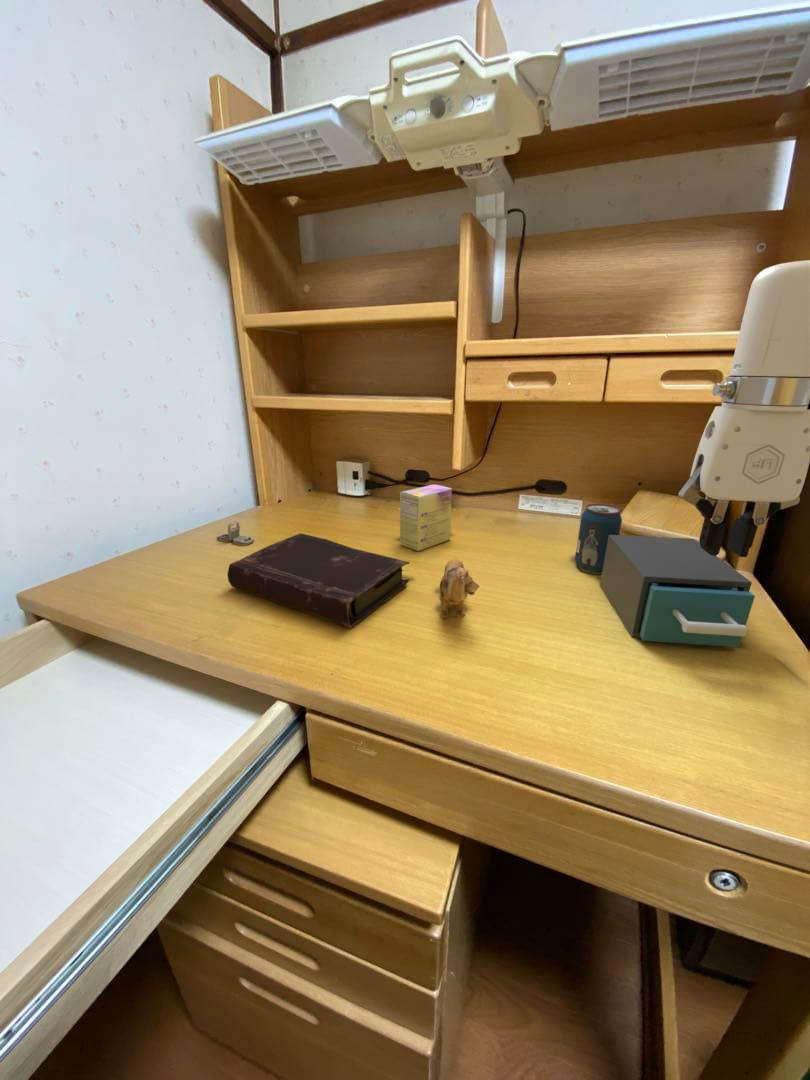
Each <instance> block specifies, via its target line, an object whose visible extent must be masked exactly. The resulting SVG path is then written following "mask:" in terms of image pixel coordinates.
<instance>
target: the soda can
mask: <svg viewBox="0 0 810 1080" xmlns="http://www.w3.org/2000/svg"><path fill="white" fill-rule="evenodd" d="M622 521H623V517H622V516H621V509H620V508H618V507H617V506H614V505H610V504H605V503H590V504H587V505H586V507H585V510H584V511H583V512H582V513H581V515H580V521H579V522H580V523H579V530H578V536H577V543H576V549H575V555H574V561H575V564H576V566H577V568H578V569H579V570H581V571H582V572H585V573H588V574H592V575H602V570H603V565H604V559H605V553H606V548H607V542H608V537H609V535H620V534H621V527H622Z"/></svg>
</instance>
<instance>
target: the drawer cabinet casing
mask: <svg viewBox="0 0 810 1080" xmlns="http://www.w3.org/2000/svg"><path fill="white" fill-rule="evenodd" d="M649 582H663V583H680V584H697V585H715V586H732V587H737V588H738V590H737V591H745V592H750V590H751V586H752V581H751V580H749V579H748V578H746V577H745V576H744V575H743V574H741V573H740V572H739V571H738V570H736V569H735V568H733V566H731V565H730V564H729V563H727V562H726V561H724V560H723V559H722V558H720V557H719V556H718V555H717V556H711V555H710V554H708V553H707V552H706V551H705V550H703V549H702V548H701V547H700V543H699V541H697V539H695V538H689V537H688V538H687V537H686V538H684V537H665V536H646V535H645V536H644V535H625V534H619V535H609V537H608V542H607V548H606V553H605V559H604V565H603V570H602V574H601V576H600V582H599V587H600V588H601V590H602V591H603V593H604V595H605V597H606V598H607V600H608V601H609V603H610V604H611V606H612V608H613V609H614V611H615V613H616V614H617V616H618V618H619V620H620V621H621V623H622V624H623V625H624V627H625V629H626V630H627V632H628V634H629V635H630V637H631V638H639V639H640V638H641V637H640V632H641V627H640V622H641V617H642V613H643V608H644V604H645V599H646V595H647V590H648V586H649Z"/></svg>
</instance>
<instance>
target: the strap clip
mask: <svg viewBox="0 0 810 1080" xmlns="http://www.w3.org/2000/svg"><path fill="white" fill-rule="evenodd" d="M235 525H236V526H235ZM232 526H235V527H233V528H232ZM240 528H241V527H240V523H239V521H232V522H230V523H229V524H228V526H227V534H222V535H219V536H217V537H216V540H218V541H220V542H224V543H231V542H232V543H233V544H235V545H238V546H247V545H250V544H253V543H254V541H255V539H254V538H253V537H251V536H246V535H240V533H241V532H240V531H241V529H240Z"/></svg>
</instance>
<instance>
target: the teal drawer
mask: <svg viewBox="0 0 810 1080" xmlns="http://www.w3.org/2000/svg"><path fill="white" fill-rule="evenodd" d="M737 590H738V588H737V587H732V586H715V585H697V584H680V583H663V582H649V586H648V590H647V595H646V599H645V604H644V608H643V613H642V617H641V622H640V627H641V632H640V637H641V641H647V642H648V641H649V642H659V643H671V644H672V643H673V644H674V643H675V644H687V645H688V644H689V645H701V646H718V647H731V648H740V645H741V642H742V639H743V637H746V636H747V635H748V628H747V623H748V620H749V617H750V613H751V610H752V607H753V604H754V600H755V597H756V595H755V594H754V593H752V592H751V591H749V592H745V591H737ZM640 637H639V638H640Z"/></svg>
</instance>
